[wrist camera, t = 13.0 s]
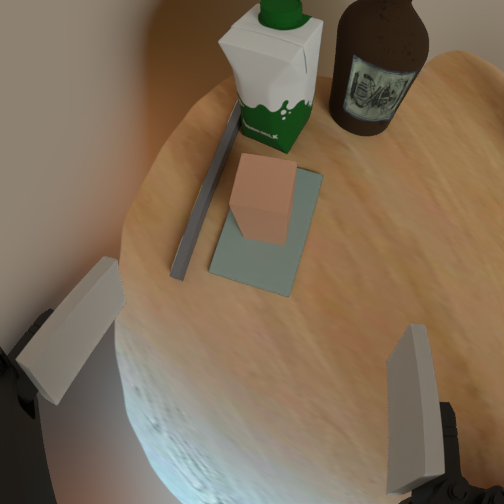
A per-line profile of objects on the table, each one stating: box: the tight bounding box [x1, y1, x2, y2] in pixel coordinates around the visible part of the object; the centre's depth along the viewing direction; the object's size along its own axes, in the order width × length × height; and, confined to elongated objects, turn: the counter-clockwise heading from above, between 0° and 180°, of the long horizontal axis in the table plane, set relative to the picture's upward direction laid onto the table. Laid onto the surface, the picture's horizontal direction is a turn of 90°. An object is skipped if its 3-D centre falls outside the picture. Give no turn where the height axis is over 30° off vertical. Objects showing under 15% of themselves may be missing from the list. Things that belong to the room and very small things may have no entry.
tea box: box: [229, 153, 297, 246], centre depth 32 cm, size 5×5×12 cm
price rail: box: [170, 99, 242, 281], centre depth 40 cm, size 28×1×2 cm, turn 162°
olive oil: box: [329, 0, 429, 136], centre depth 29 cm, size 11×11×25 cm
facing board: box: [209, 168, 323, 297], centre depth 39 cm, size 16×10×1 cm, turn 163°
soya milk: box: [218, 0, 323, 154], centre depth 32 cm, size 9×9×20 cm
